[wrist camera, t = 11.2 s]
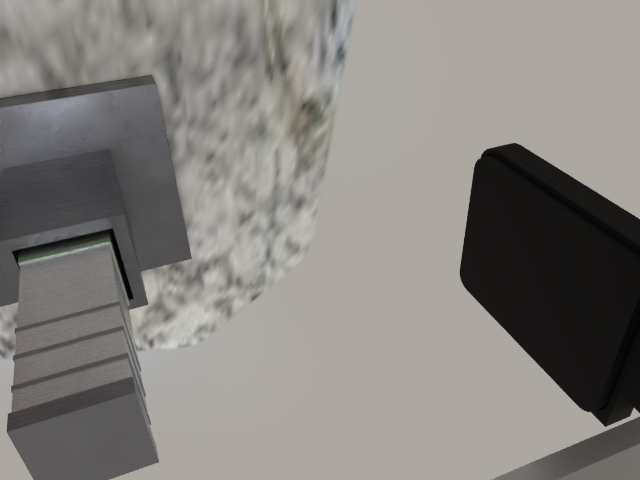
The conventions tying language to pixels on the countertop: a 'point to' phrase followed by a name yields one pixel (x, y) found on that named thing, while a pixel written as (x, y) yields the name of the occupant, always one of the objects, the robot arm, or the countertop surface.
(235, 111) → the countertop surface
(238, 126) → the countertop surface
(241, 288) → the countertop surface
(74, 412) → the post
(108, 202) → the stand
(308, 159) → the countertop surface
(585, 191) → the robot arm
